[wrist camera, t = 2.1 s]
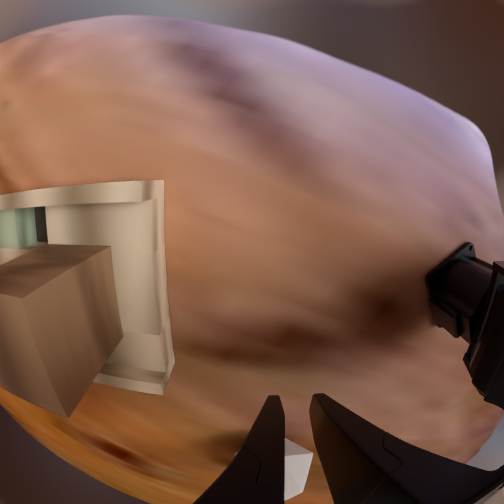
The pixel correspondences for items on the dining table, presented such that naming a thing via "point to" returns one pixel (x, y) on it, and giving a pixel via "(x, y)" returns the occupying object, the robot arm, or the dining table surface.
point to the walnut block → (57, 323)
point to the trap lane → (123, 257)
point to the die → (295, 468)
